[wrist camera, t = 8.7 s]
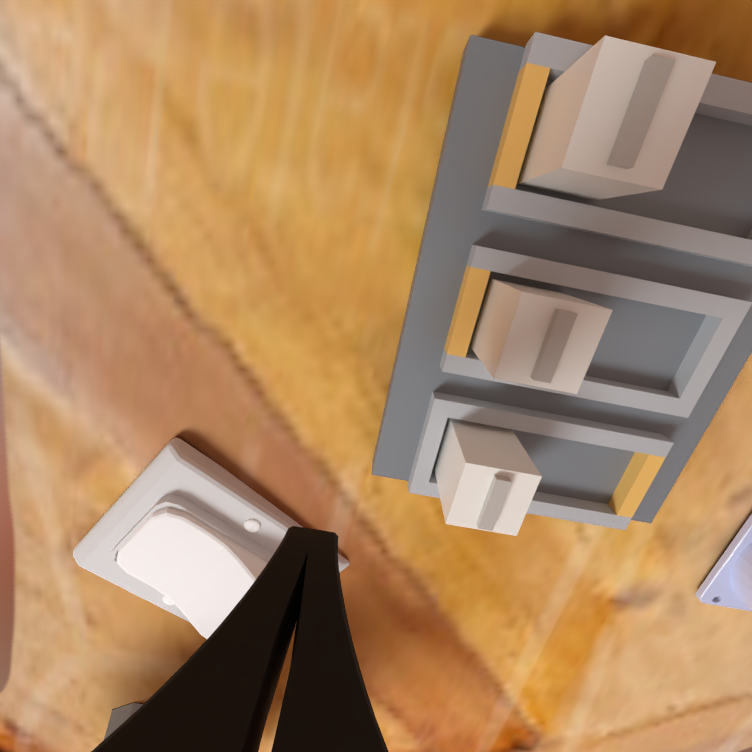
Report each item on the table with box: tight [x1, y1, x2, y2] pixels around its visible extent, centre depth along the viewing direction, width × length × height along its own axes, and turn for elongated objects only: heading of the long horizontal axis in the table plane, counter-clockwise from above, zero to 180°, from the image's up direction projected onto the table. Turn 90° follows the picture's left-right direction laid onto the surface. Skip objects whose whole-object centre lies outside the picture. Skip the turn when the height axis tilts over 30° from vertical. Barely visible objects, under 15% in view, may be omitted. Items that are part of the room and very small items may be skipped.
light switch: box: [73, 438, 350, 639], centre depth 22 cm, size 11×4×13 cm
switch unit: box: [372, 32, 752, 530], centre depth 16 cm, size 15×18×2 cm
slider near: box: [518, 36, 716, 200], centre depth 12 cm, size 3×3×4 cm
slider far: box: [434, 418, 542, 536], centre depth 16 cm, size 3×3×4 cm
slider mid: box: [471, 278, 613, 394], centre depth 14 cm, size 3×3×4 cm
